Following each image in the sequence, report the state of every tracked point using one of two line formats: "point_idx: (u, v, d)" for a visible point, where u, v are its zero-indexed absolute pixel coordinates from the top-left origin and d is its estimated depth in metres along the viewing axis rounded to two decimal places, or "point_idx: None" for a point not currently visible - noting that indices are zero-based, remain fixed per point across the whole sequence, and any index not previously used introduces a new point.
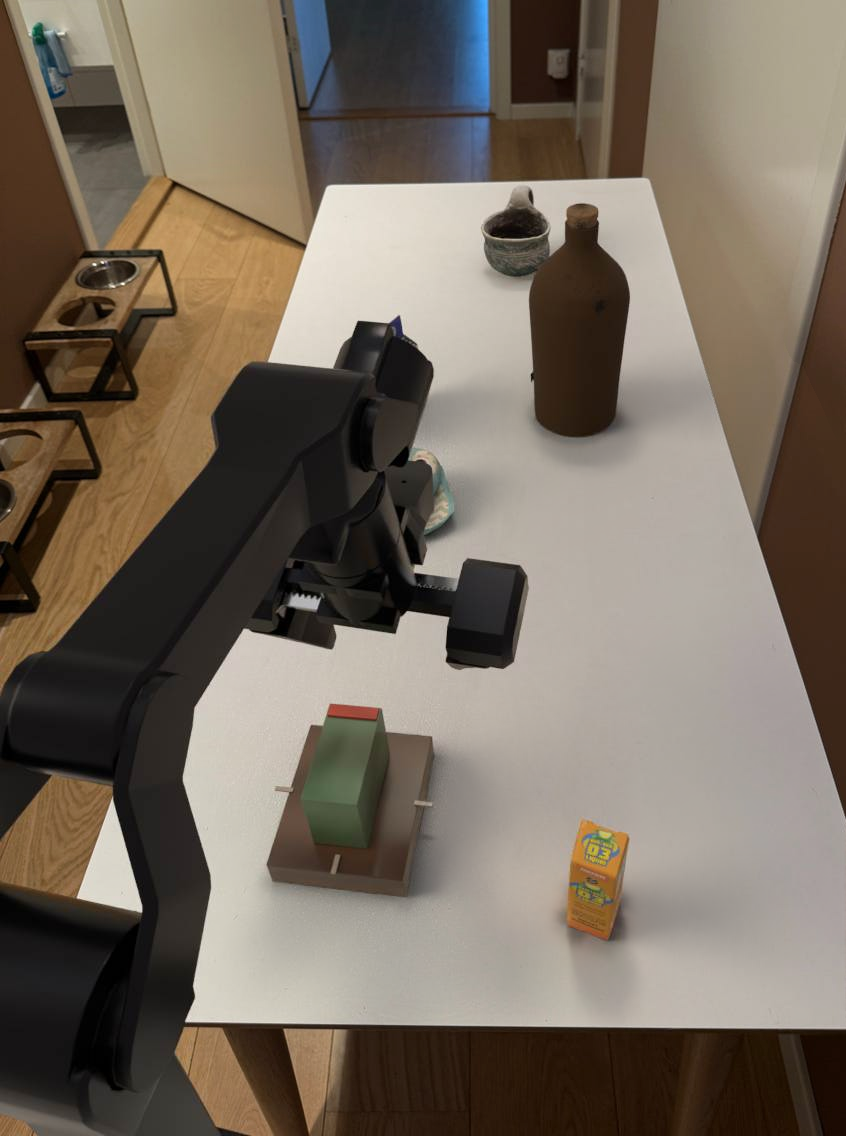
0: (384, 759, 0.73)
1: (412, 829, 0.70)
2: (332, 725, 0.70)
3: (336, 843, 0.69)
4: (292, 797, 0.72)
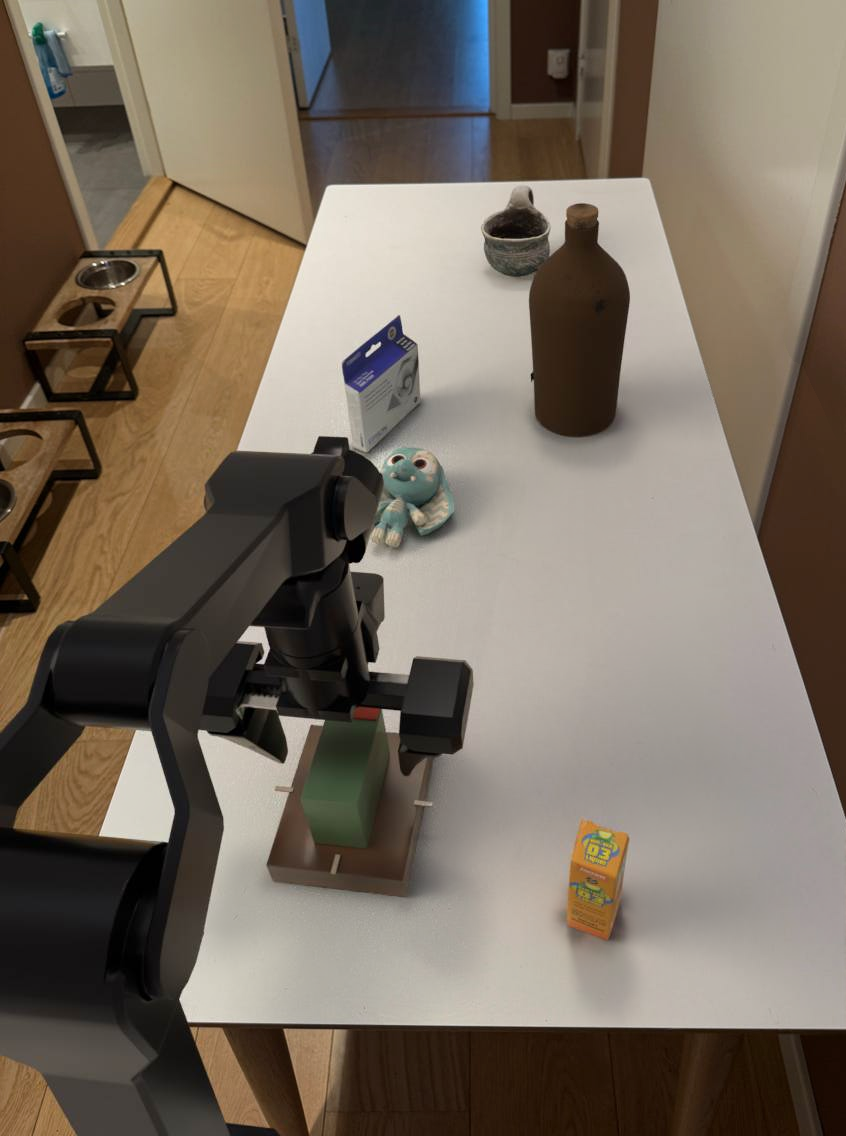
0: (384, 759, 0.73)
1: (412, 829, 0.70)
2: (332, 725, 0.70)
3: (336, 843, 0.69)
4: (292, 797, 0.72)
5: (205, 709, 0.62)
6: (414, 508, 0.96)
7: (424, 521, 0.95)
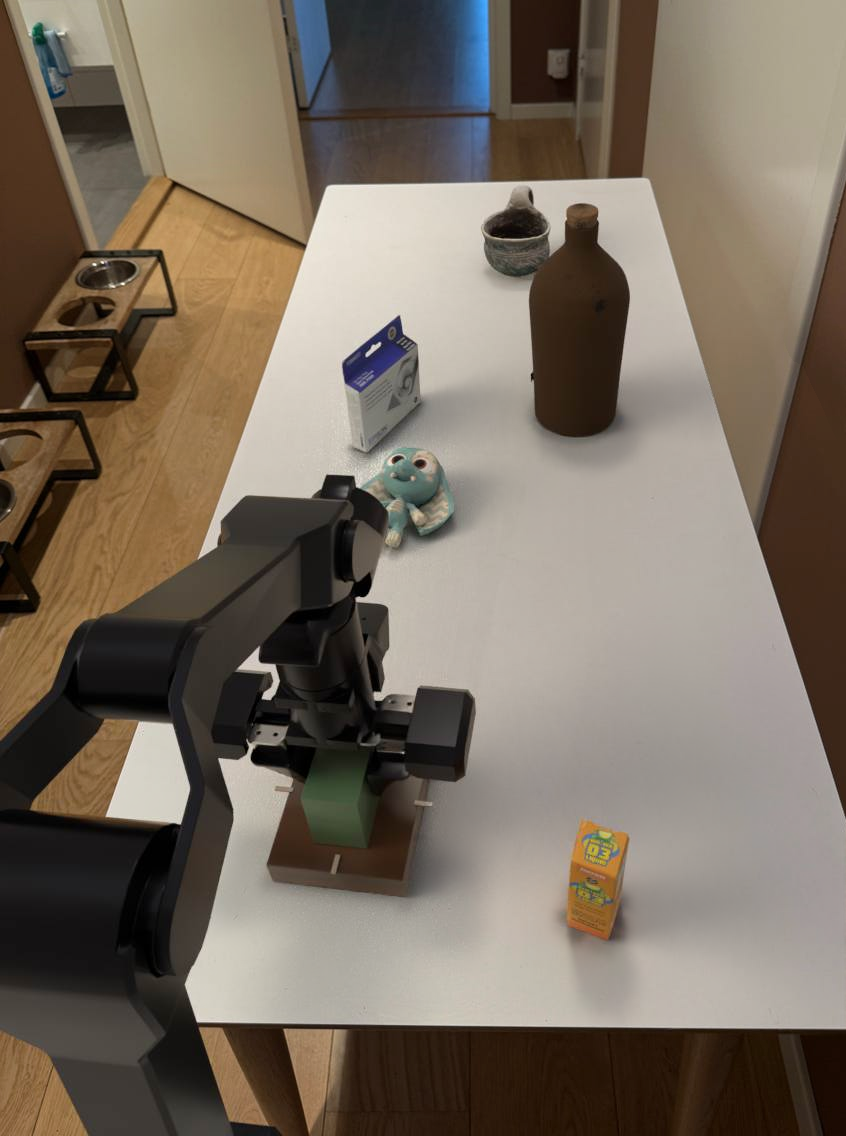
0: None
1: (412, 829, 0.70)
2: None
3: (336, 843, 0.69)
4: (292, 797, 0.72)
5: (217, 738, 0.64)
6: (414, 508, 0.96)
7: (424, 521, 0.95)
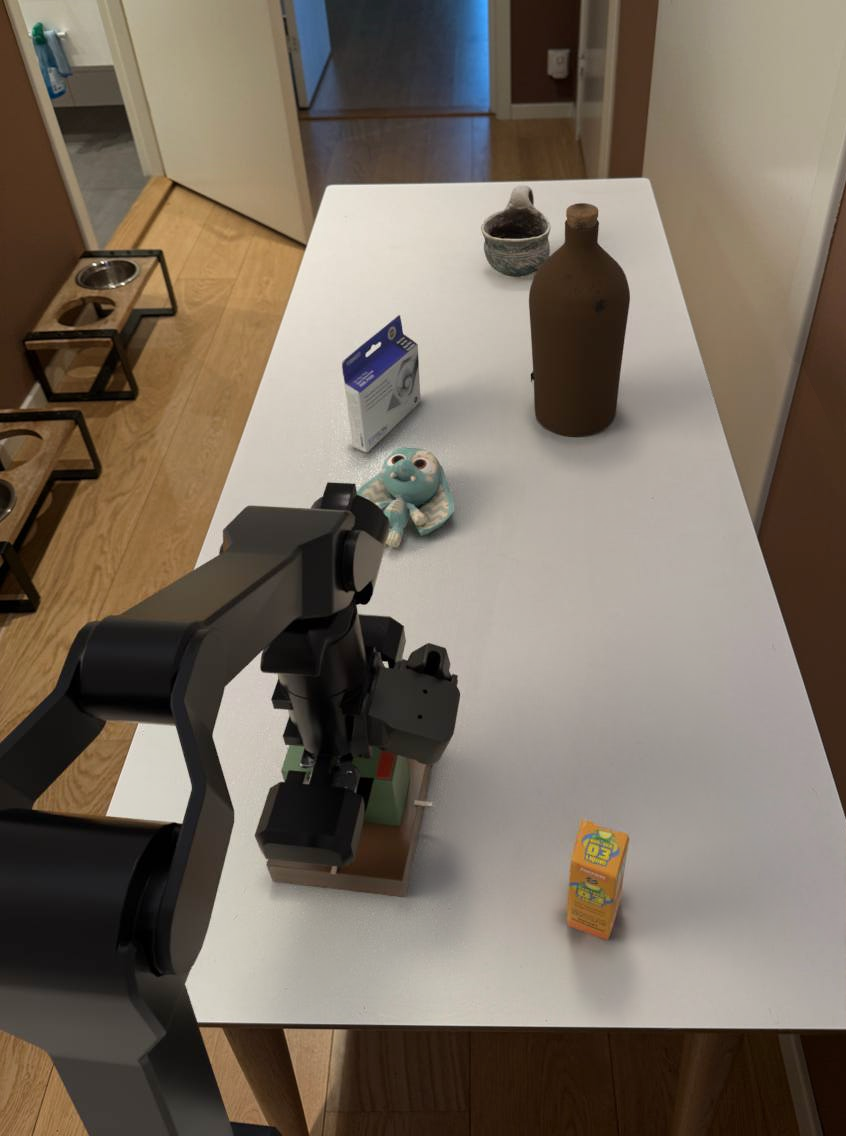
0: (379, 814, 0.69)
1: (412, 829, 0.70)
2: None
3: None
4: None
5: None
6: (414, 508, 0.96)
7: (424, 521, 0.95)
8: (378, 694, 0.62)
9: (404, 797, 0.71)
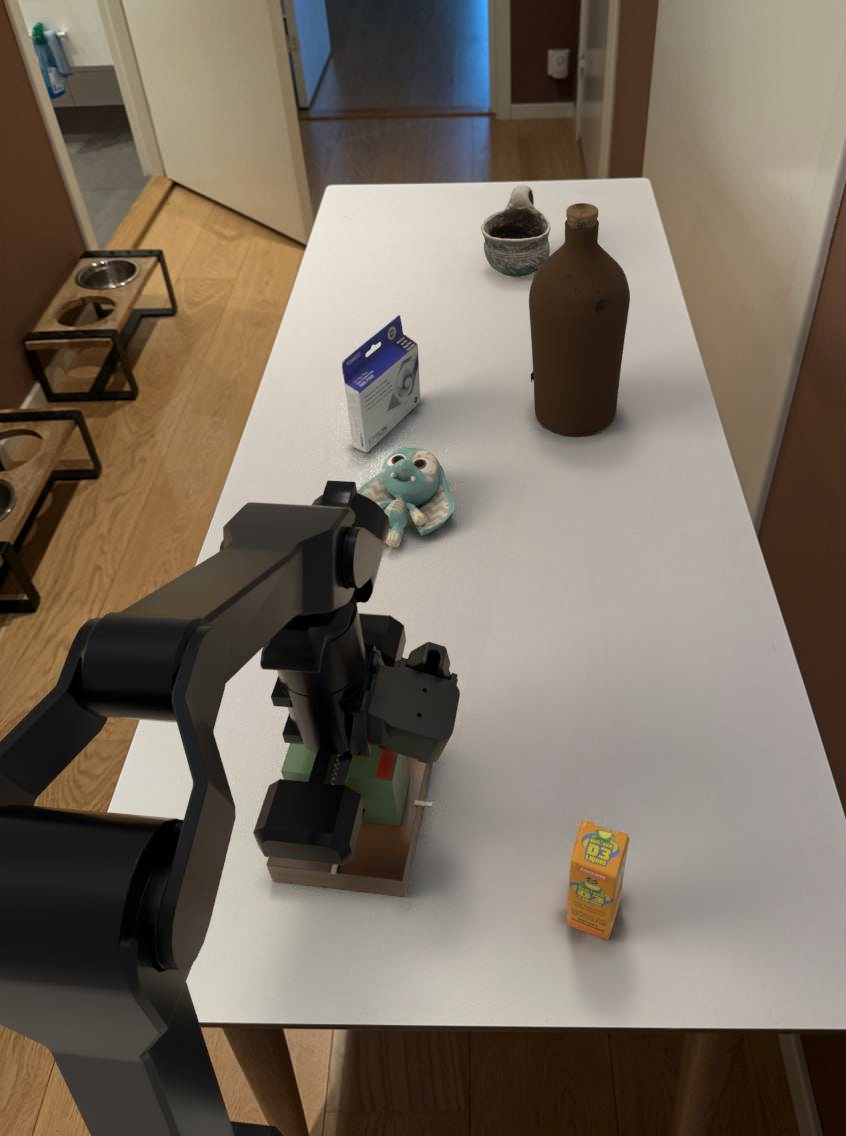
0: (379, 814, 0.69)
1: (412, 829, 0.70)
2: None
3: None
4: None
5: None
6: (414, 508, 0.96)
7: (424, 521, 0.95)
8: (378, 692, 0.62)
9: (404, 797, 0.71)
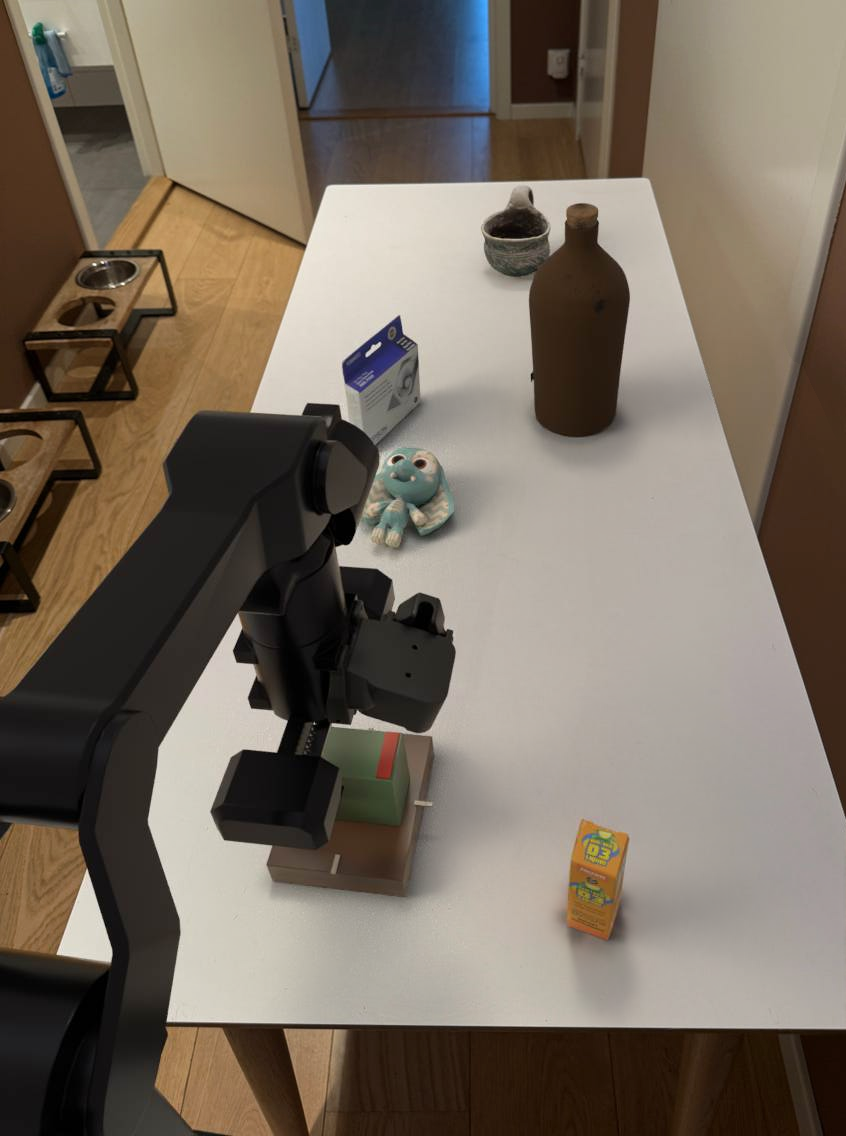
0: (379, 814, 0.69)
1: (412, 829, 0.70)
2: (375, 738, 0.69)
3: None
4: None
5: None
6: (414, 508, 0.96)
7: (424, 521, 0.95)
8: (359, 648, 0.53)
9: (404, 797, 0.71)
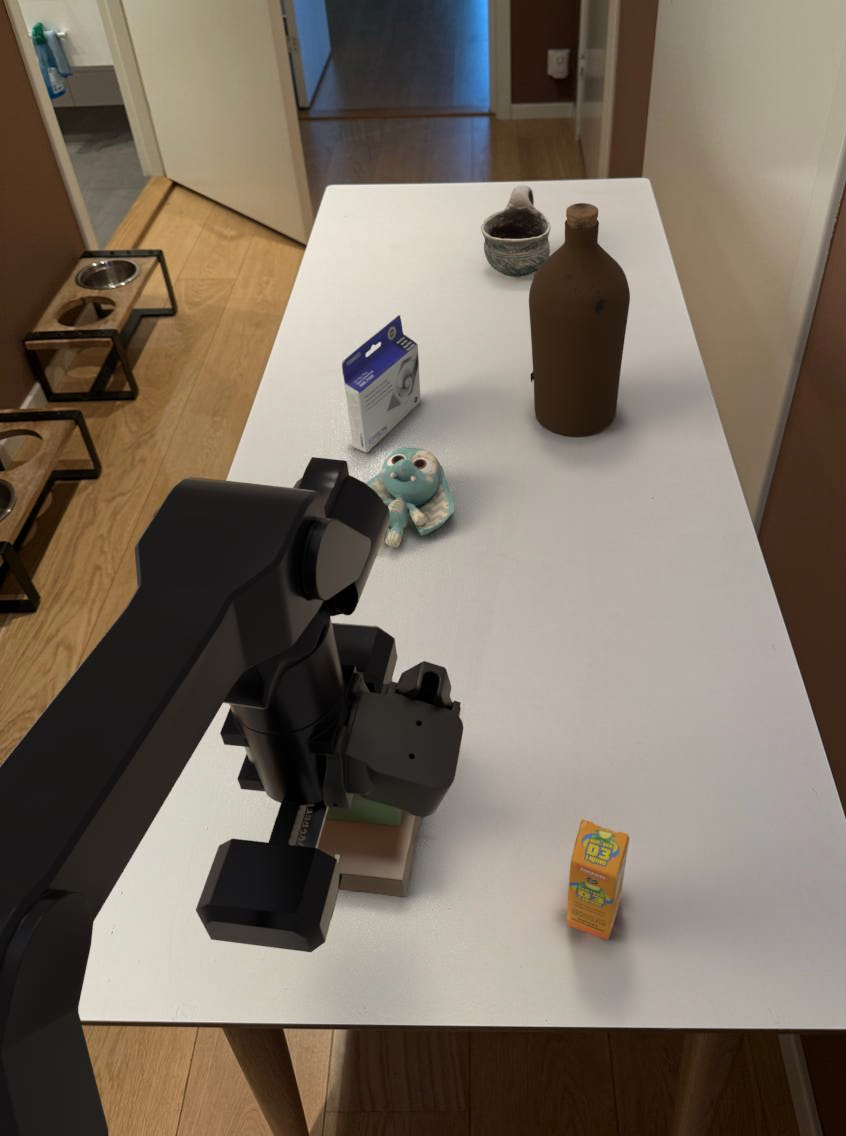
0: (379, 814, 0.69)
1: (412, 829, 0.70)
2: None
3: None
4: None
5: None
6: (414, 508, 0.96)
7: (424, 521, 0.95)
8: (359, 727, 0.49)
9: None
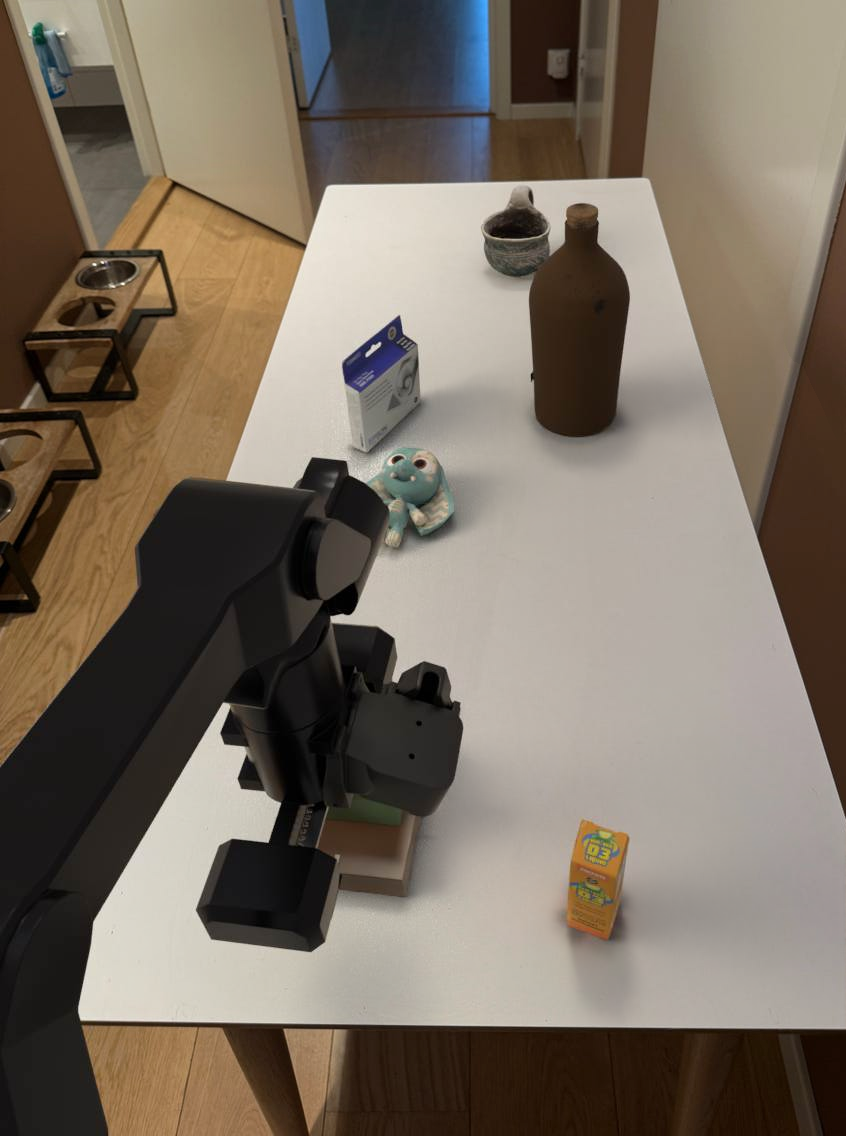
0: (379, 814, 0.69)
1: (412, 829, 0.70)
2: None
3: None
4: None
5: None
6: (414, 508, 0.96)
7: (424, 521, 0.95)
8: (359, 727, 0.49)
9: None
